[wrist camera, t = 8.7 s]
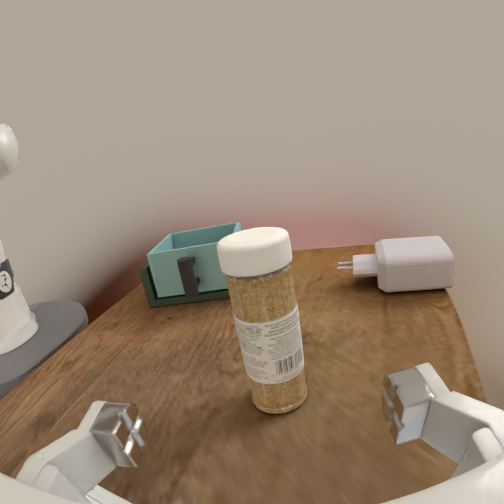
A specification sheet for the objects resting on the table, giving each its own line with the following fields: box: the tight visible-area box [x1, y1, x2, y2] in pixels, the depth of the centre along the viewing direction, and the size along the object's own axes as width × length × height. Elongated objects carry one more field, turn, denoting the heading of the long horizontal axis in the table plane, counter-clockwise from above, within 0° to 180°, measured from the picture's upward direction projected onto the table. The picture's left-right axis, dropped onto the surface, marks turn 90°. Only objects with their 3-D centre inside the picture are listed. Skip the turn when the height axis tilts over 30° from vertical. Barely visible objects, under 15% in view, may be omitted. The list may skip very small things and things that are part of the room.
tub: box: [147, 222, 242, 298], centre depth 47 cm, size 13×16×7 cm
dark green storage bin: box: [139, 229, 248, 307], centre depth 50 cm, size 16×14×6 cm
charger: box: [337, 236, 454, 292], centre depth 39 cm, size 5×9×15 cm
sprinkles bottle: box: [217, 227, 308, 414], centre depth 22 cm, size 5×5×13 cm
